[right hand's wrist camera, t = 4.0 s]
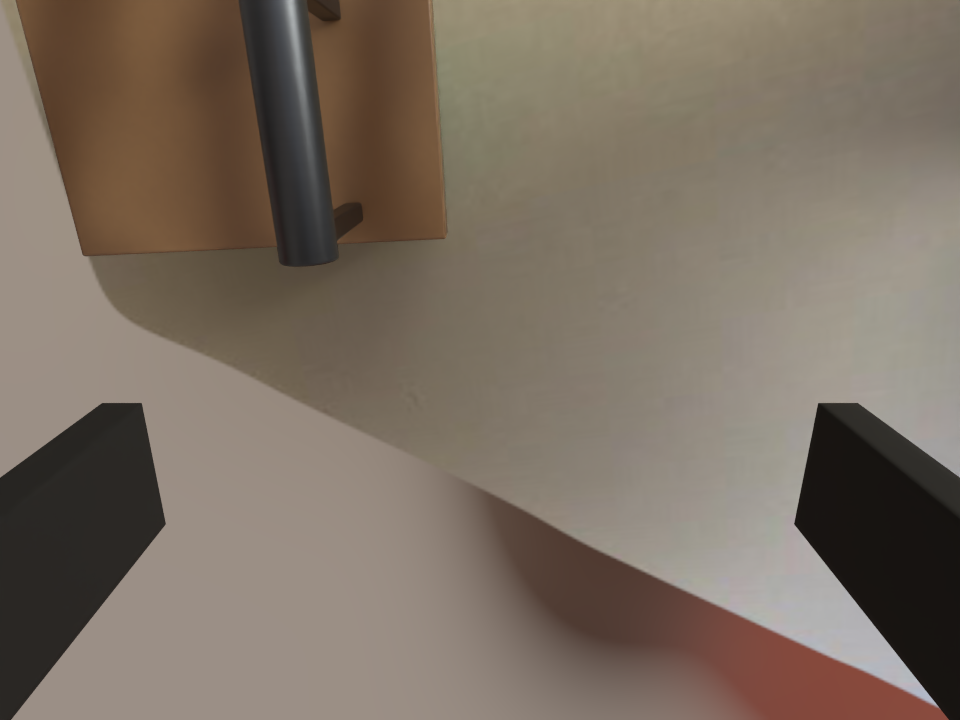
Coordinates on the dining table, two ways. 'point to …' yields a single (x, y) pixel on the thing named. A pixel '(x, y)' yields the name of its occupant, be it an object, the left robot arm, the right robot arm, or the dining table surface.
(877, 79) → the dining table surface
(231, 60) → the lid
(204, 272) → the dining table surface
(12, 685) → the right robot arm
